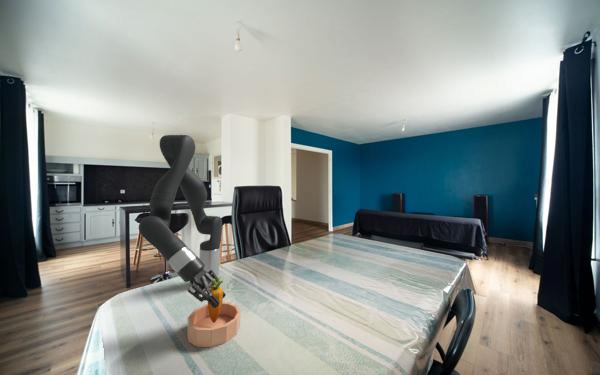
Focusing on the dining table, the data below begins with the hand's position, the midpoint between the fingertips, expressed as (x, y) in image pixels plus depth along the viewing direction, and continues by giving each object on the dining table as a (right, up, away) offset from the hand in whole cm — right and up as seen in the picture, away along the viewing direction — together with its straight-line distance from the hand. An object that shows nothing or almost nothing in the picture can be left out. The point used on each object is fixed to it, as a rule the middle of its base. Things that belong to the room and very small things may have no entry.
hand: (220, 301), depth 72 cm
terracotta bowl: (-2, -9, 0) cm, 10 cm away
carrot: (-2, -7, 0) cm, 8 cm away
